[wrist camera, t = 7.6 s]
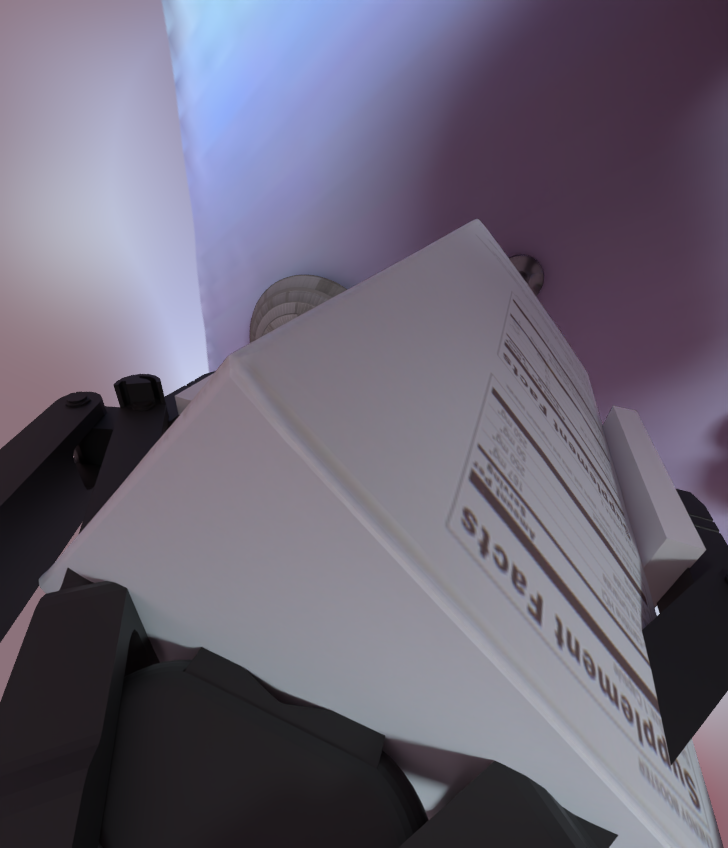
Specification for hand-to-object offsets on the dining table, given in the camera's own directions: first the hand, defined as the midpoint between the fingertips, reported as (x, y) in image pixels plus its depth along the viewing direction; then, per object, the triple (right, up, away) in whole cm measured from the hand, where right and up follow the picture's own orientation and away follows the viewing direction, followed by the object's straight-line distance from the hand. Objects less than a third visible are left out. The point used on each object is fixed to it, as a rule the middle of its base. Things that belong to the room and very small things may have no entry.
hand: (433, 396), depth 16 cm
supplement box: (+2, +2, +4) cm, 5 cm away
